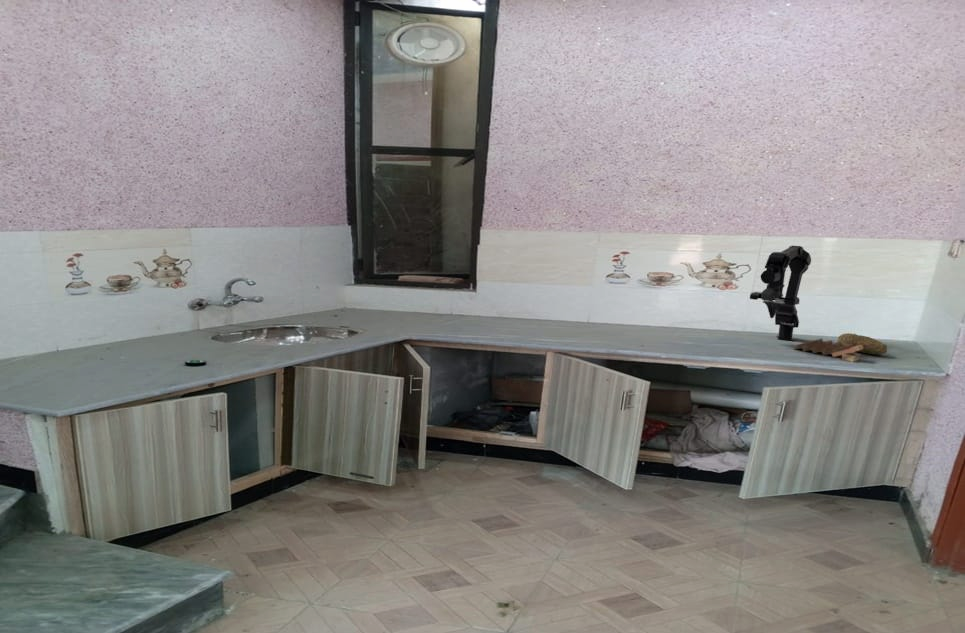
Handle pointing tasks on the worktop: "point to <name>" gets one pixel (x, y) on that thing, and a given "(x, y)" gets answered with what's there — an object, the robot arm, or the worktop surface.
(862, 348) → the domino
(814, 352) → the domino
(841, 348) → the domino
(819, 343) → the brown rectangular block
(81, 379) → the worktop surface
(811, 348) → the domino
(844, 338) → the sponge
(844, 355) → the stop block
